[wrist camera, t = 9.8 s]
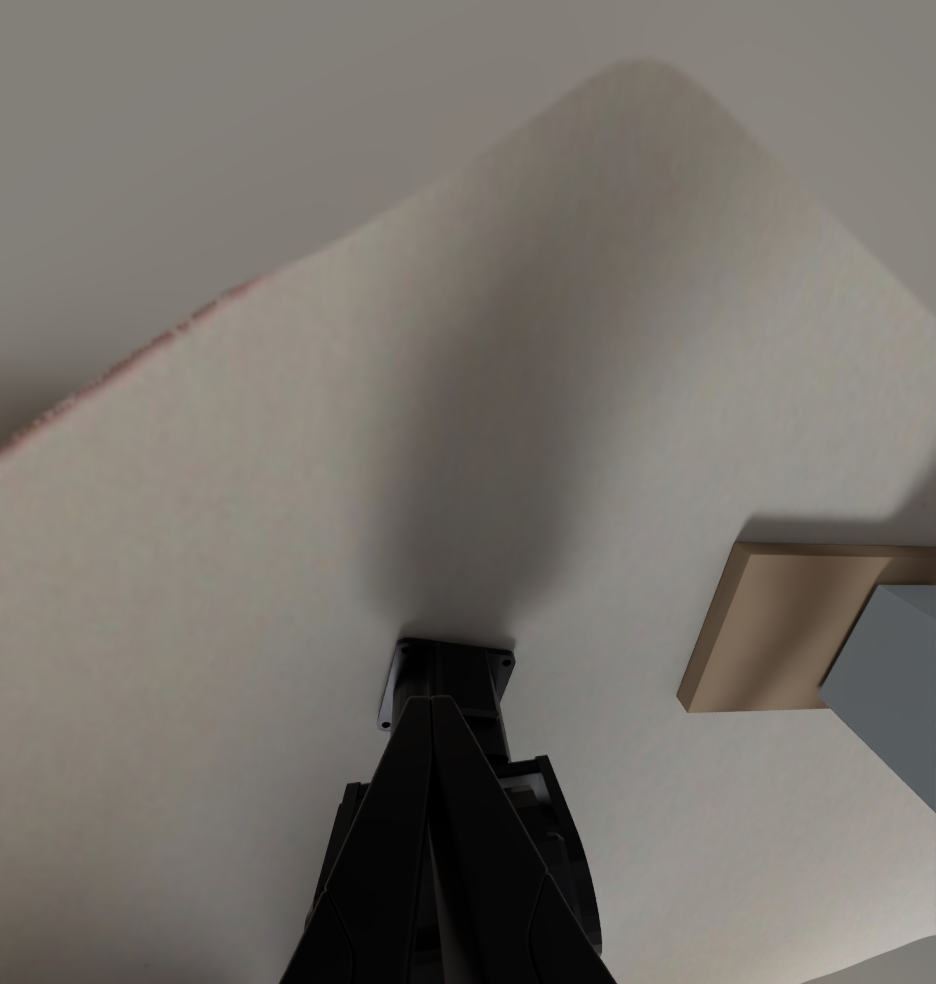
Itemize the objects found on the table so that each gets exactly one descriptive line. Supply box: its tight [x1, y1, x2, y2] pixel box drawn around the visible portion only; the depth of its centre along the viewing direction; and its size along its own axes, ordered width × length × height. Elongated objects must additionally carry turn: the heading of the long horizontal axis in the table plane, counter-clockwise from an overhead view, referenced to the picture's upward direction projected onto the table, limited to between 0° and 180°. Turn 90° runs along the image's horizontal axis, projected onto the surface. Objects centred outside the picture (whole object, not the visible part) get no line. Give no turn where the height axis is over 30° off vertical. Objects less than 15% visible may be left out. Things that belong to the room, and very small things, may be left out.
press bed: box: [677, 542, 936, 713], centre depth 23 cm, size 20×11×7 cm, turn 85°
